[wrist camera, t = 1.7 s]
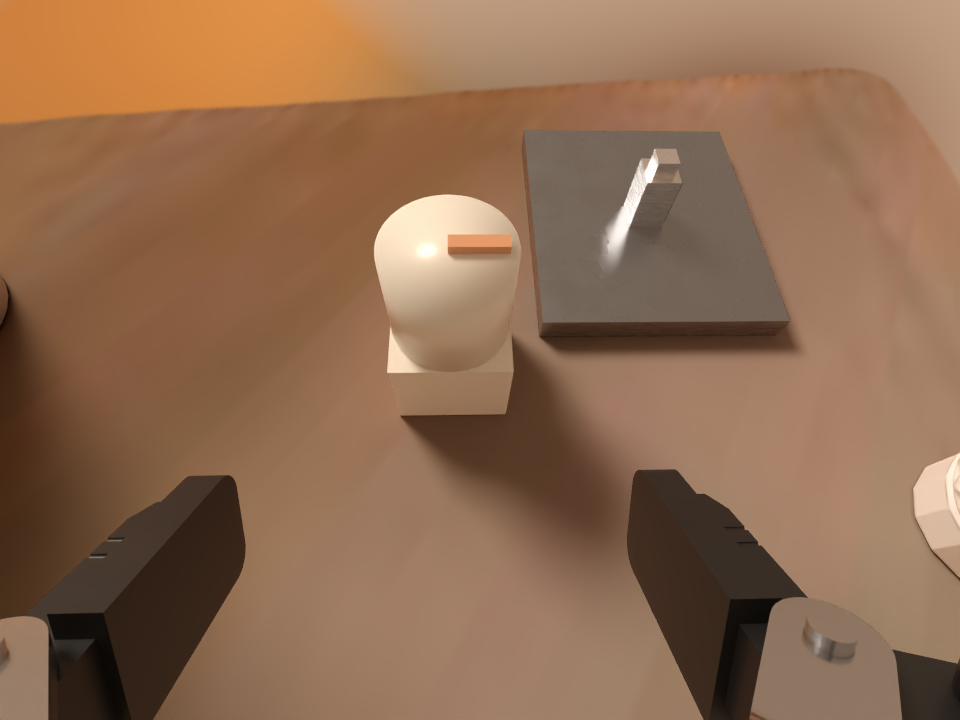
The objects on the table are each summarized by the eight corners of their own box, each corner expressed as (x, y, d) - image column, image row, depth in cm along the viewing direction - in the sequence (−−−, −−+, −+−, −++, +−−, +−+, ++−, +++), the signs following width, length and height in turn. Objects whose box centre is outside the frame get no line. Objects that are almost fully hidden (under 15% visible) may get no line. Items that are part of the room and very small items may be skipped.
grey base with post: (539, 336, 29) (556, 271, 24) (521, 148, 37) (531, 67, 31) (775, 334, 30) (843, 270, 24) (710, 149, 37) (751, 70, 32)
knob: (399, 415, 27) (366, 302, 17) (404, 325, 29) (377, 186, 20) (505, 414, 27) (527, 301, 18) (500, 325, 29) (517, 187, 20)
